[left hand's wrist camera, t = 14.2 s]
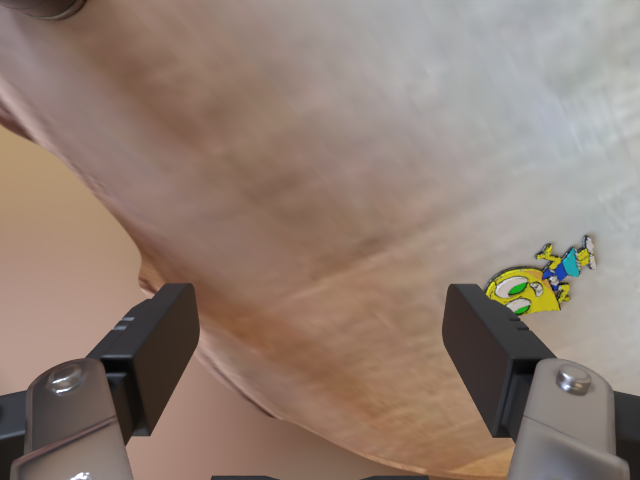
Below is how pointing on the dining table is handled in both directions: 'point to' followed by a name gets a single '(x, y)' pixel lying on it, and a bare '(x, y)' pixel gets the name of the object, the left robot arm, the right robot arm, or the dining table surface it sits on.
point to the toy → (540, 281)
